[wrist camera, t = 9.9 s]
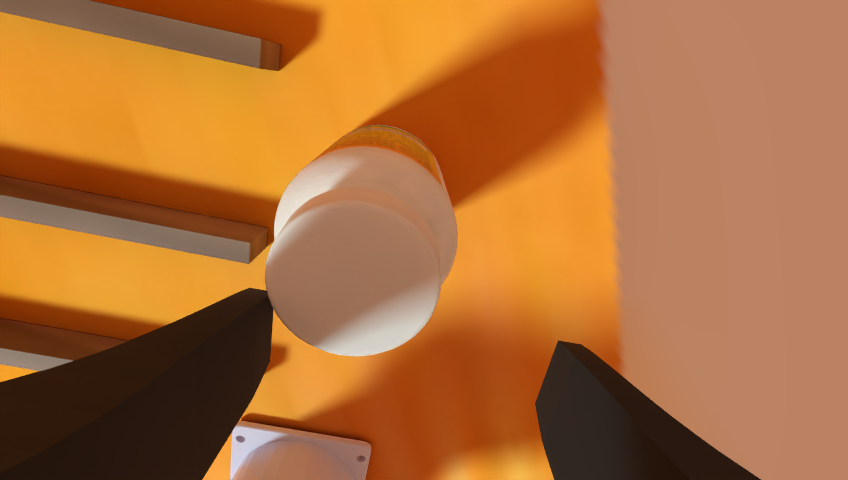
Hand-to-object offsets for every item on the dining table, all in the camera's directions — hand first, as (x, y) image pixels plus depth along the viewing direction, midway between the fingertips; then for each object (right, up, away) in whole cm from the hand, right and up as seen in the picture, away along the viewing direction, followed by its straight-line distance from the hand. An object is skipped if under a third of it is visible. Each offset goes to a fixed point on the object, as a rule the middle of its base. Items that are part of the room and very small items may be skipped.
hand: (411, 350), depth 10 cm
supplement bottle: (-2, +5, +8) cm, 10 cm away
